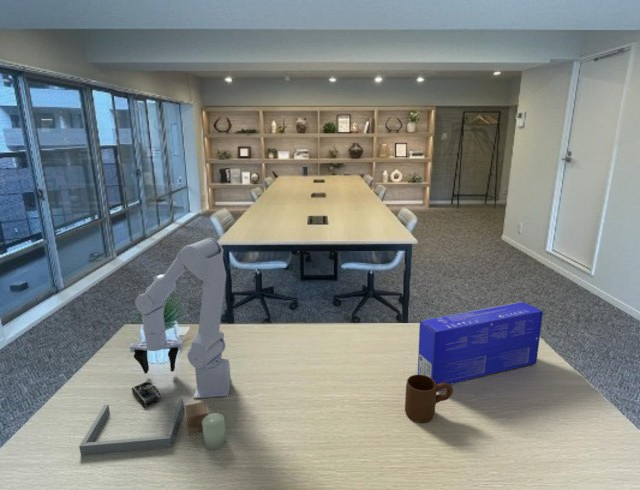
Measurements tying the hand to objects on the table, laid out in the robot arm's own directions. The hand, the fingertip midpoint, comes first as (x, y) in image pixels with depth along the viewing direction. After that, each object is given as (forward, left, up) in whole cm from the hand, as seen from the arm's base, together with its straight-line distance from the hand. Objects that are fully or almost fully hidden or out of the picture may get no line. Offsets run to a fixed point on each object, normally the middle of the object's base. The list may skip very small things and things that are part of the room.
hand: (159, 370), depth 121 cm
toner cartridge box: (-97, +9, -2) cm, 97 cm away
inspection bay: (0, +23, -2) cm, 23 cm away
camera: (+2, +9, -2) cm, 10 cm away
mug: (-74, +27, -2) cm, 79 cm away
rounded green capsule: (-20, +30, -2) cm, 36 cm away
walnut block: (-15, +24, -2) cm, 28 cm away
